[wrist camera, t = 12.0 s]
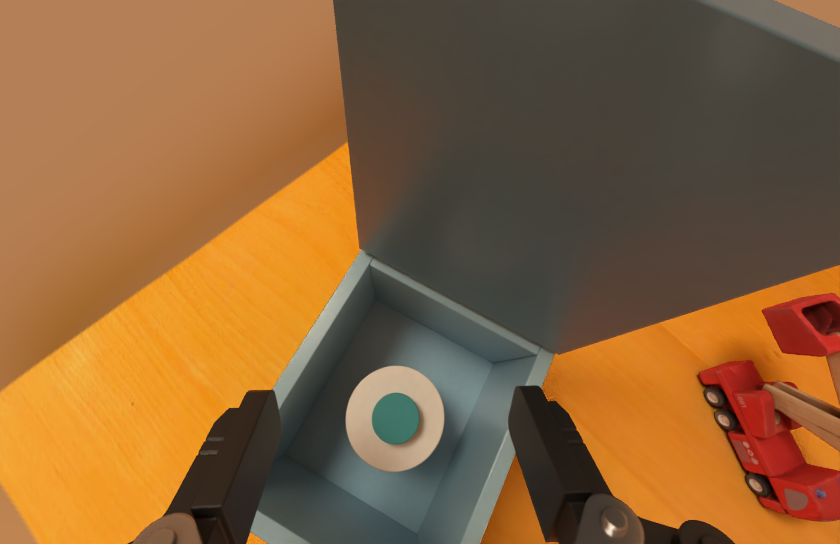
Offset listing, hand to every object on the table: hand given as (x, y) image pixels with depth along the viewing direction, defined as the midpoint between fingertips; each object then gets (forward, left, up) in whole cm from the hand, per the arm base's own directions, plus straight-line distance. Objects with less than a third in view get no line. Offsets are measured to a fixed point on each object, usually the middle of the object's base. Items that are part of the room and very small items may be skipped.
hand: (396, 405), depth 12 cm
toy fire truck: (+11, -23, -15) cm, 30 cm away
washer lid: (+6, 0, +2) cm, 7 cm away
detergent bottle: (-1, 0, -14) cm, 14 cm away
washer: (-1, 0, -15) cm, 15 cm away
